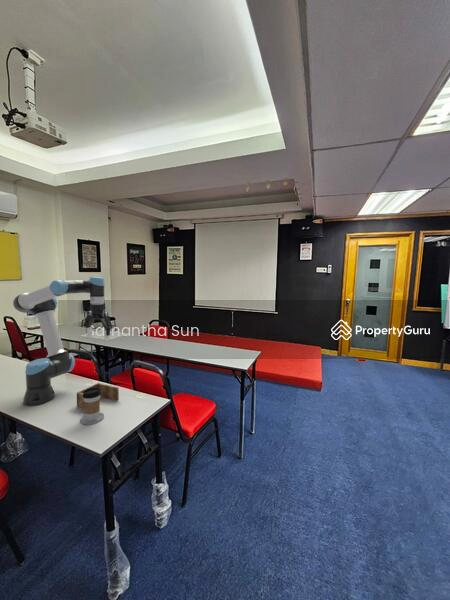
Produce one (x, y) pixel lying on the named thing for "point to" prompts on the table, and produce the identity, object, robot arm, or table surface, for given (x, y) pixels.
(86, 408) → the coffee cup
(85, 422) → the coaster
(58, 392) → the table surface
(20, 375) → the table surface
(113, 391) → the wooden c-shaped bracket
